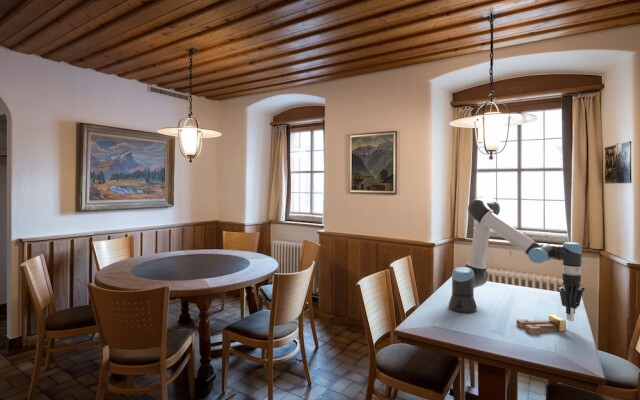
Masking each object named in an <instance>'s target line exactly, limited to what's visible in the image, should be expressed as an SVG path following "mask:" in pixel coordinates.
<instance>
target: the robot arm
mask: <svg viewBox="0 0 640 400" xmlns="http://www.w3.org/2000/svg"><path fill="white" fill-rule="evenodd" d="M467 212H468V215H469V216H470V217H471V218H472V219H473V221H474V223H475V225H474V231H473V237H472V242H471V248H470V254H469V255H470V256H469V260H468V261H467V262H465V266H461V267H460V266H458V267H455V268H453V270H452V272H451V273H452V274H451V278H452V279H451V296H450V299H449V302H448V308H449V309H450V310H451V311H453V312H456V313H460V314H474V313H475V312H477V310H478V309H477V307H478V306H477V303H476V300H475V296H474V292H475V291H474V289H476V288H478V287H482V286H483V285H484V284H486V283H487V282H488V279H489V272H488V271H487V268H488V266H487V265H486V259H487V257H486V256H487V251H488V247H489V242H490V241H489V240H490V235H491V231H493V232H494V233H496V234H497V235H499V236H501V238H503V239H504V240H506V241H507V242H508V243H510V244H511V245H513V247H516V249H518V250H520V251H521V252H523V253H524V254H526V255H527V256H528V259H529V260H530V261H531V262H532V263H535V264H543V263H545V262H547V261H550V260H555V261H562V271H561V272H562V275H561V280H562V284H561V286H559V287H557V290H558V292H559V296H560V301H561V305H562V306H563V307H565V313H566V321H569V322H574V321H575V314H576V309H578V307H580V305H581V300H582V297H583V296H582V295H583V293H584V291H585V290H586V289H585V287H583V286H581V284H580V283H581V280H582V276H581V274H582V258H583V257H582V254H583V251H582V249H583V248H582V244H581V243H579V242H573V241H565V242H563V244H562V245H559V244H550V243H540V242H539V243H538V242H536V241H535V240H533V239H532V238H531V237H529V236H527V235H526V234H524V233H523V232H522V231H520V230H518V229H517V228H516V227H514V226H513V225H512V224H510V223H509V222H507V221H505V219H502V218H501V217H500V216H498V215H499V214H500V212H501V207H500V204H499V203H498V201H497V200H496V199H494V198H489V197H484V198H475V199H473V200H472V201H470V202H469V204H468V206H467Z"/></svg>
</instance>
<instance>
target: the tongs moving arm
mask: <svg viewBox="0 0 640 400" xmlns="http://www.w3.org/2000/svg"><path fill="white" fill-rule="evenodd" d="M553 323H554V322H552V321H550V320H528V319H516V325H517V326H518V327H520V328H524V329H525V325H534V324H553ZM566 329H567V324H566V325H565V330H566Z"/></svg>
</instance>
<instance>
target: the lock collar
mask: <svg viewBox="0 0 640 400" xmlns="http://www.w3.org/2000/svg"><path fill="white" fill-rule="evenodd" d="M548 321H552V322H554V323H556V324H558V331H557V332H565V331H566V329H565V325H566V326H567V319H566V320H565V319H564V318H562V317H560V316H557V315H555V314H549V315H548Z"/></svg>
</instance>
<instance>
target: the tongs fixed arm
mask: <svg viewBox="0 0 640 400" xmlns="http://www.w3.org/2000/svg"><path fill="white" fill-rule="evenodd" d="M524 331H525V332H526V333H528V334H530V335H540V334H541V333H547V332H548V333H550V332H559V331H558V324H556V323H553V324H534V325H525V328H524Z"/></svg>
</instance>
